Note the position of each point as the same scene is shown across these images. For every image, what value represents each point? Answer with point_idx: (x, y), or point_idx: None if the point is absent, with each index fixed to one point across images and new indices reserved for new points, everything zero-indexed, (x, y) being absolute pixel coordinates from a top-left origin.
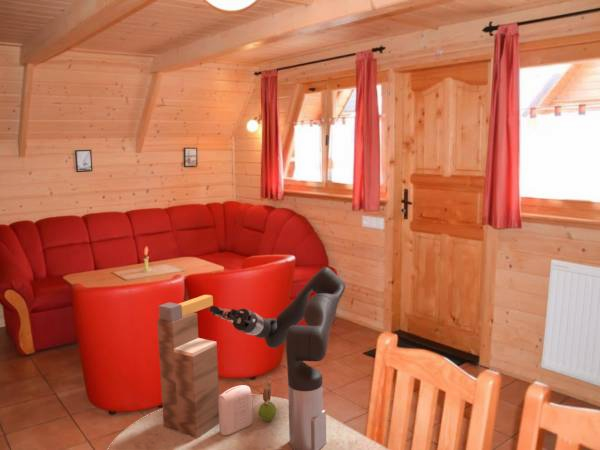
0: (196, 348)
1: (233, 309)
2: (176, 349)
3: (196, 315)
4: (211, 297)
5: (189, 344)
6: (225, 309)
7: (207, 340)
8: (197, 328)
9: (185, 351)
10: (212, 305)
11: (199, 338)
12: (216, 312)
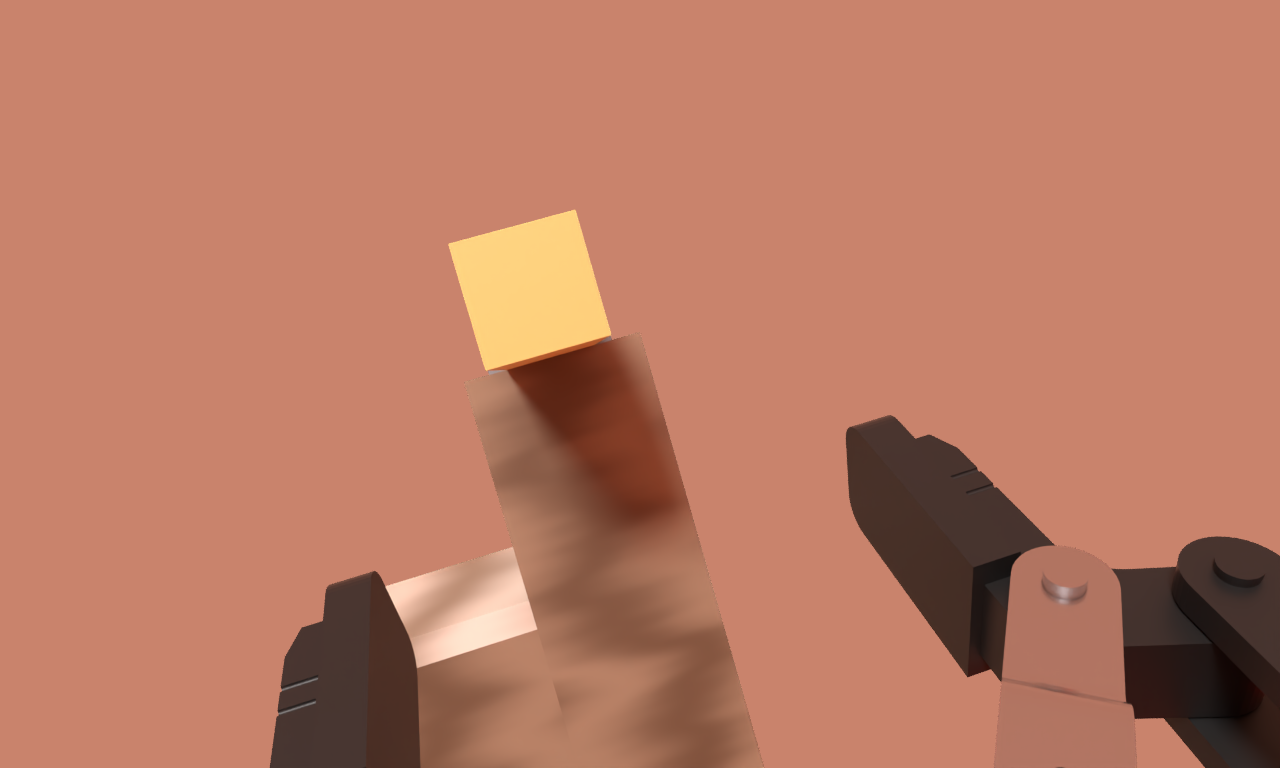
0: (398, 598)
1: (331, 586)
2: (508, 548)
3: (470, 398)
4: (456, 263)
5: (491, 576)
6: (1003, 711)
7: (413, 633)
8: (504, 515)
9: (434, 571)
10: (487, 370)
11: (507, 604)
12: (934, 611)
